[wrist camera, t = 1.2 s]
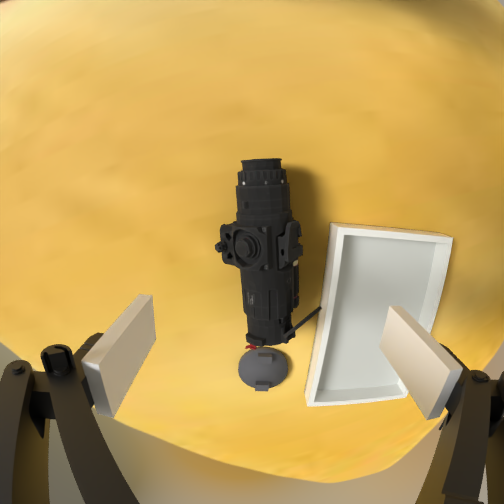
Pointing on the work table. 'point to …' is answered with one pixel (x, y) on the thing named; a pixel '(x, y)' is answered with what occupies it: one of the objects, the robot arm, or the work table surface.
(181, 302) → the work table surface
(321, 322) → the tray
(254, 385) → the lens cap
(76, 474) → the robot arm
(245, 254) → the night vision scope
